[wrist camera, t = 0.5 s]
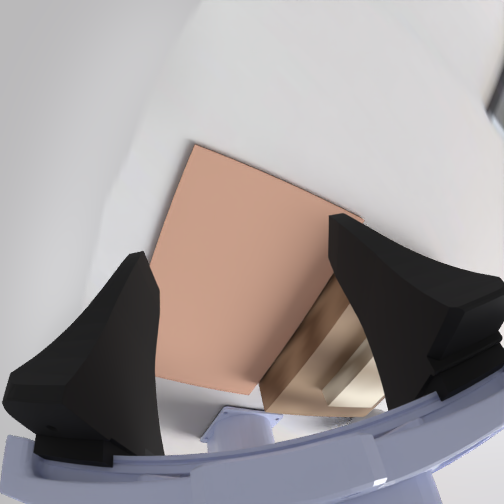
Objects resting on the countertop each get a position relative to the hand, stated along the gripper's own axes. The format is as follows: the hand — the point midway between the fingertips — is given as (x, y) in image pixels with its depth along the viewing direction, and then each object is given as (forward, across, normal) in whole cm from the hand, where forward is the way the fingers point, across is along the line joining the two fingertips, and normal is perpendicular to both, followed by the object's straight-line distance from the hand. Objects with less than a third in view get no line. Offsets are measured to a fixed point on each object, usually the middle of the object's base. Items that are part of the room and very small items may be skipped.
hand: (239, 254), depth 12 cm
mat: (+9, +2, +11) cm, 14 cm away
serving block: (+8, -10, +19) cm, 23 cm away
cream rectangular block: (+4, -10, +19) cm, 22 cm away
